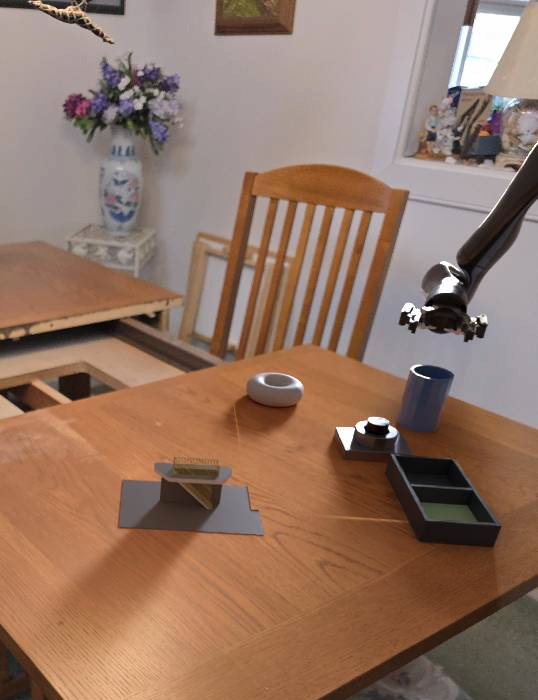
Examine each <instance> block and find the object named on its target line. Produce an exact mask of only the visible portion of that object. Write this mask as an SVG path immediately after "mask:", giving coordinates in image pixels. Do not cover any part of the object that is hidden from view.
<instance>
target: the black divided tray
mask: <svg viewBox="0 0 538 700" xmlns="http://www.w3.org/2000/svg"><path fill="white" fill-rule="evenodd" d="M384 474H385V476H386V478H387V480H388V482H389V484H390V486H391V488H392V490H393V492H394V494H395V496H396V498H397V500H398V502H399V504H400V506H401V508H402V510H403V512H404V514H405V516H406V518H407V520H408V522H409V525H410V526H411V528H412V530H413V533H414V535H415V536H416V538H417V541H418V543H430V544H444V545H445V544H447V545H458V546H459V545H460V546H461V545H462V546H475V547H489V548H494V547H495V545H496V542H497V539H498V537H499V534H500V532H501V529H502V527H503V525H502V524H501V522H500V521H499V520H498V518H497V517H496V515H495V514H494V513H493V511H492V509H491V508H490V507H489V505H488V504H487V503H486V501H485V499H484V498H483V497H482V495H481V494H480V492H479V490H478V489H477V488H476V487H475V485H474V484H473V482H472V480H471V479H470V478H469V476H468V475H467V473H466V472H465V471H464V469H463V468H462V466H461V465H460V463H459V462H458V460H457V458H455V457H444V456H443V457H442V456H428V455H399V454H390V456H389V460H388V463H386V467H385V470H384Z"/></svg>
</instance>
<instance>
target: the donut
mask: <svg viewBox="0 0 538 700" xmlns="http://www.w3.org/2000/svg"><path fill="white" fill-rule="evenodd" d="M245 387H246V388H245V390H246V394H247V396H248V397H249V398H250V399H251V400H252V401H254V402H255V403H258V404H260V405H264V406H268V407H274V408H275V407H276V408H283V407H284V408H285V407H286V408H287V407H292V406H294V405H296V404H298V403H300V401H301V400H302V399H303V398H304V395H305V389H304V384H302V382H301V381H299V379H297V378H295V377H294V376H291V375H289V374H285V373H281V372H262V373H261V372H260V373H257V374H255V375H252V376H251V377H250V378H249V379H248V381H246V386H245Z"/></svg>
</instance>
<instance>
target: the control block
mask: <svg viewBox="0 0 538 700" xmlns="http://www.w3.org/2000/svg"><path fill="white" fill-rule="evenodd" d="M366 424H367V420H364V421H359V422H357V423H356V424H355V426H354V427H344V426H343V427H341V426H339V427H338V426H335V429H334V434H333V438H334V440H335V443H336V446H337V448H338V450H339V452H340V453H339V454H340V456H341V458H342V460H343V461H354V462H369V463H382V464H383V463H384V464H388V460H389V456H390V454H399V455H414V452H413V451H412V449H411V448H410V446H409V444H408V443H407V441H406V439H405V437H404V436H403V434H402V432H401V431H400V430H397V429H396V427H393V426H391V425H390V424H389V428H388V431H387V434H386V435H375V434H371V433H368V432H367V431H365V428H366ZM414 456H415V455H414Z"/></svg>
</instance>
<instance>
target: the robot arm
mask: <svg viewBox="0 0 538 700" xmlns="http://www.w3.org/2000/svg"><path fill="white" fill-rule="evenodd" d="M537 201H538V142H537V143H536V144H535V145H534V147H532V150H531V151H530V152H529V154H528V156H527V157H526V159H525V160H524V162H523V163H522V165H521V166H520V168H519V169H518V171H517V173H516V174H515V176H514V177H513V179H512V180H511V182H510V183H509V184H508V185H507V188H506V189H505V191H504V193H503V194H502V196H501V197H500V199H499V200H498V202H497V203H496V205H495V206H494V207H493V209H492V210H491V212H490V213H489V214H488V215H487V217H486V218H485V219H484V220H483V222H481V224H480V225H479V226H478V227H477V228H476V229H475V231H474V232H473V233H472V234H471V235H470V237H469V238H468V239H467V240H466V241H465V242H464V243H463V244H462V246H460V248H459V249H458V250H457V253H456V254H455V255H456V256H455V261H456V264H457V265H458V267H459V268H460V269H459V268H457V267H456V266H454V265H452V264H451V263H449V262H447V261H440V262H436V263H435V264H434V265H432V266H430V268H429V269H428V270H427V271H426V273H425V274H424V276H423V278H422V280H421V283H420V284H421V285H420V291H421V294H422V296H423V298H424V299H425V300H424V303H423V305H422V307H421V308H419V309H418V308H417V309H416V308H415V306H414V304H413V303H410V302H406V303H405V304H404V306H403V308H402V309H401V311H400V316H399V318H398V319H399V320H398V325H399V326H401V327H405V326H406V325H408V326H407V330H408V331H410V334H414V335H415V334H416V332H417V329H418V330H419V329H420V330H422V331H423V330H428V331H430V332H432V333H433V334H437V335H447V334H450V333H451V334H454V335H456V336H463V341H462V342H463V343H469V341H474V337H476V338H478V339H479V340H481V339H484V338H485V334H486V332H487V328H488V327H489V320H488V316H487V315H486V314H484V313H482V314H479V315H477V316H476V317H471V316H470V314H468V305H470V303H471V302H472V300H473V298H474V296H475V295H476V293H477V291H478V289H479V287H480V284H481V283H482V281H483V280H484V278H485V276H486V275H487V274H488V273H489V271H490V270H491V269H492V268H493V267H494V266H495V265H496V264H497V263H498V262H499V261H500V260H501V259H502V258H503V257H504V256H505V255H506V253H508V251H509V250H510V249H511V248H512V246H513V245H515V243H516V241H517V239H518V237H519V235H520V233H521V230H522V227H523V223H524V221H525V217H526V216H527V213H528V212H529V210H530V208H531V207H533V205H534V204H535V203H536V202H537Z"/></svg>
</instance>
